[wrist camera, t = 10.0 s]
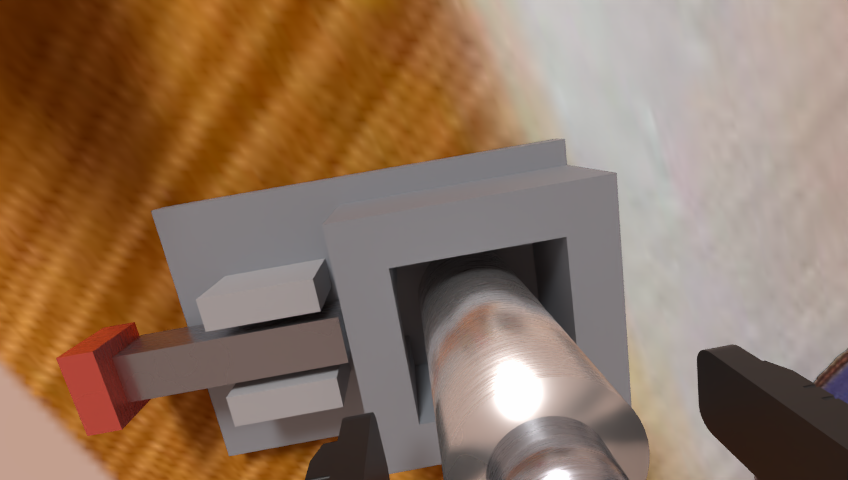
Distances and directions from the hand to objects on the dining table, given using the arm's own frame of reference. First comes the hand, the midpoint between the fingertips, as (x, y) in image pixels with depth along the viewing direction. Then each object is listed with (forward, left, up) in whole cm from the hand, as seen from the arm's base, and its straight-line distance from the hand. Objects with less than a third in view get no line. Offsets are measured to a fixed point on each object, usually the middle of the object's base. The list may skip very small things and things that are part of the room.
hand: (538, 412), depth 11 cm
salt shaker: (+1, 0, -8) cm, 8 cm away
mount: (+4, 0, -9) cm, 10 cm away
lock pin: (+10, 0, -7) cm, 12 cm away
